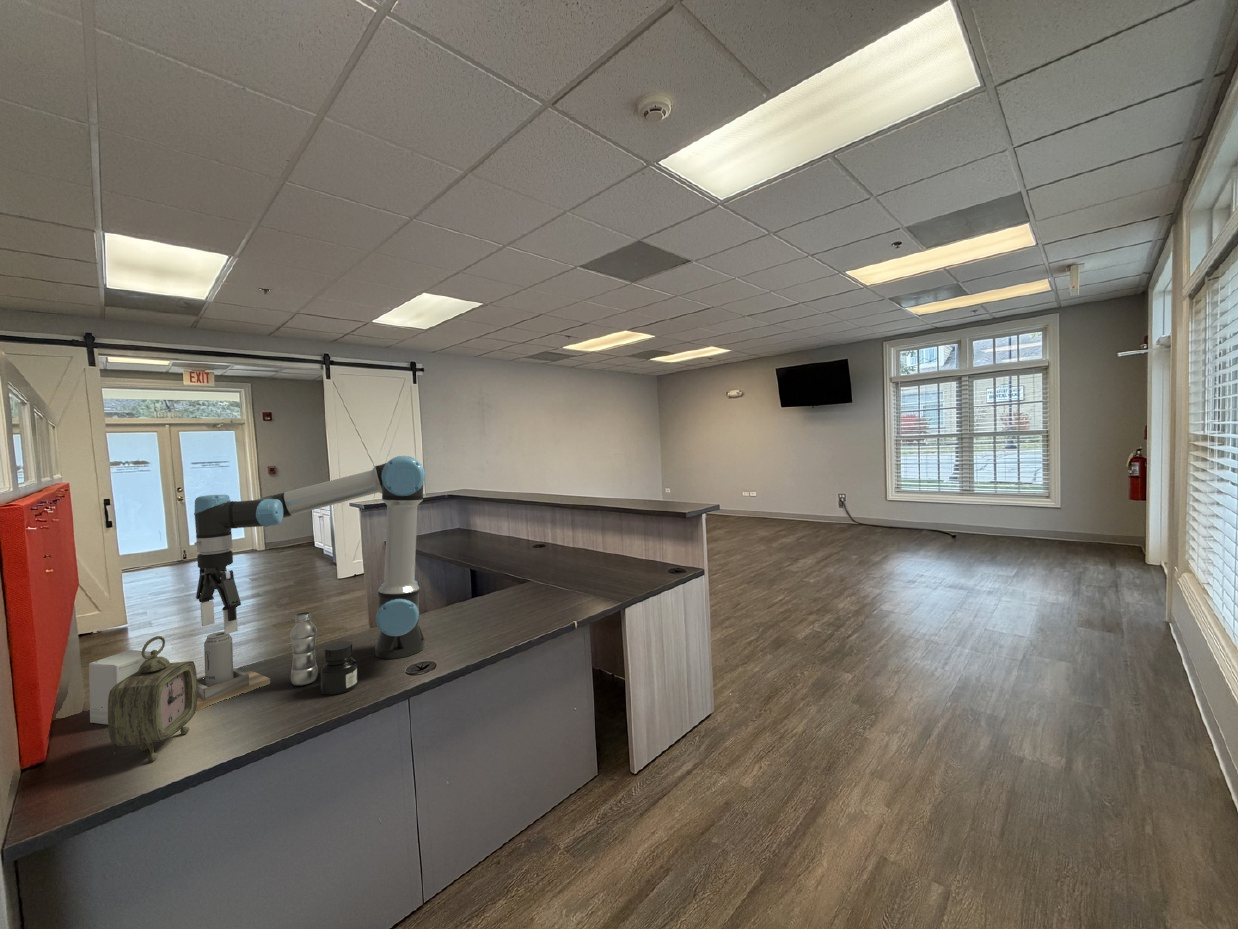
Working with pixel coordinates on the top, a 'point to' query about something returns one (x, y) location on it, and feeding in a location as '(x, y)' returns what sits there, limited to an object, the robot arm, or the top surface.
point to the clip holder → (228, 687)
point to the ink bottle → (338, 669)
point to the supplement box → (110, 680)
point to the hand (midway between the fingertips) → (219, 628)
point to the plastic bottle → (303, 650)
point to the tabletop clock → (152, 702)
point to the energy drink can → (218, 658)
